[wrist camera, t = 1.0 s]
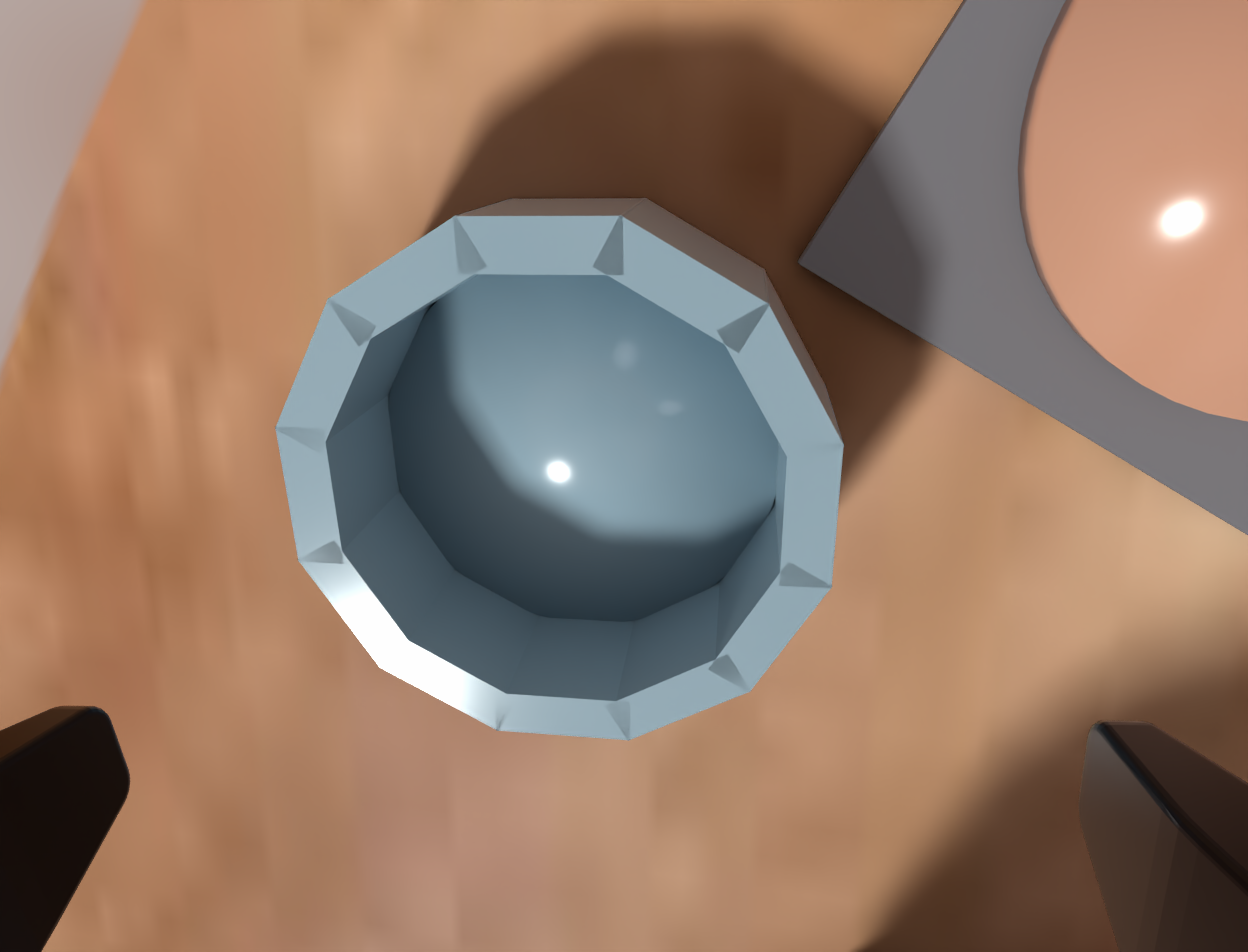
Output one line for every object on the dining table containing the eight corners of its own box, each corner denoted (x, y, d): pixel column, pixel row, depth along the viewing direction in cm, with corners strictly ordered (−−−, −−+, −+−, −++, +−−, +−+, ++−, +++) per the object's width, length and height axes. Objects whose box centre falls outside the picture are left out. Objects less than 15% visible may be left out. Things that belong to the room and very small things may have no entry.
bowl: (920, 363, 19) (963, 420, 15) (668, 705, 23) (654, 815, 20) (479, 97, 18) (412, 89, 14) (300, 504, 22) (213, 578, 19)
